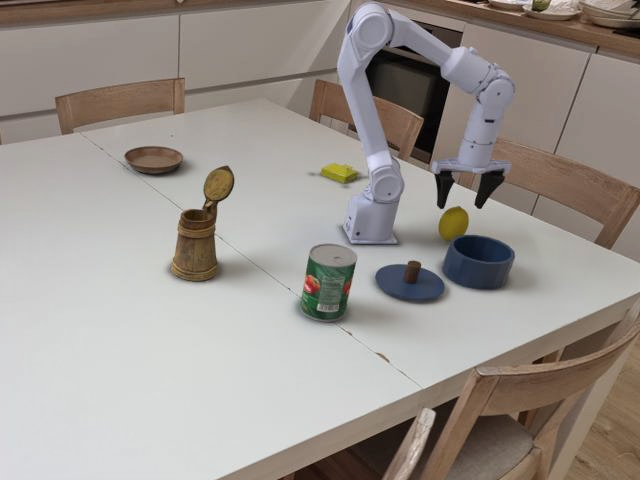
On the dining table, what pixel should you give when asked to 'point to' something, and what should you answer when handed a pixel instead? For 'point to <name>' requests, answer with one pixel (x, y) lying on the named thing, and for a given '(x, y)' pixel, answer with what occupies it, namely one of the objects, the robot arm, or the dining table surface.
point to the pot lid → (410, 281)
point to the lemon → (453, 223)
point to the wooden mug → (201, 230)
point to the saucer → (153, 159)
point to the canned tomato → (327, 282)
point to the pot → (478, 262)
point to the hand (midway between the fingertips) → (458, 207)
